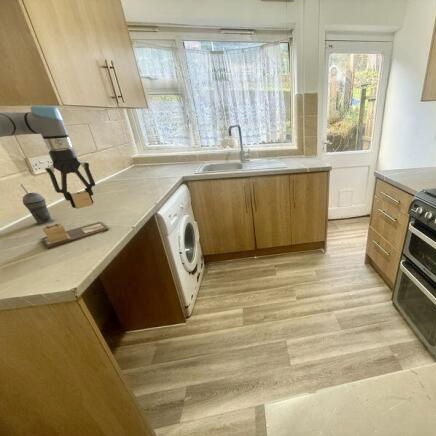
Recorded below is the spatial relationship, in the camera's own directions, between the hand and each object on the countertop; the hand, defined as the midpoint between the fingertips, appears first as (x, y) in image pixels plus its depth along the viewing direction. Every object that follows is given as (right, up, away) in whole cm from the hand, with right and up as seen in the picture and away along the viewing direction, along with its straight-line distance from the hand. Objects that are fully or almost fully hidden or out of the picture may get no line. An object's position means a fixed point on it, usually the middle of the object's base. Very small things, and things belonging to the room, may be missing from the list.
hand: (83, 204), depth 104 cm
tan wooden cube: (0, 0, 0) cm, 0 cm away
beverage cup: (-28, -9, +13) cm, 32 cm away
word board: (-3, -13, 0) cm, 14 cm away
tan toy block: (-6, -14, -4) cm, 16 cm away
